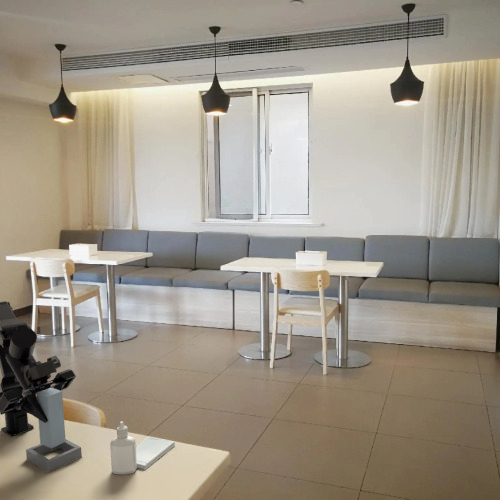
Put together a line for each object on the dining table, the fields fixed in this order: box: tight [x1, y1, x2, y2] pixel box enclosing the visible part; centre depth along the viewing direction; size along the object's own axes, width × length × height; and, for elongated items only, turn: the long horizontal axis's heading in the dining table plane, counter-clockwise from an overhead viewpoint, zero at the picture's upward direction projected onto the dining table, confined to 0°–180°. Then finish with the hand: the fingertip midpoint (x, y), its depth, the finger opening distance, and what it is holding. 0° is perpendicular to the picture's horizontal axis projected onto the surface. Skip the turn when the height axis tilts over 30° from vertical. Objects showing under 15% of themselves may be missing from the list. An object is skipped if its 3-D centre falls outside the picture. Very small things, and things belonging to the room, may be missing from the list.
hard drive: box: [136, 436, 176, 470], centre depth 129 cm, size 2×8×12 cm
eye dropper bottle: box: [109, 420, 138, 475], centre depth 121 cm, size 4×6×12 cm
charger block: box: [36, 388, 66, 448], centre depth 128 cm, size 4×4×13 cm
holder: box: [25, 438, 83, 473], centre depth 129 cm, size 10×9×2 cm
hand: (54, 418), depth 127 cm, fingers closed on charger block, 4 cm apart
